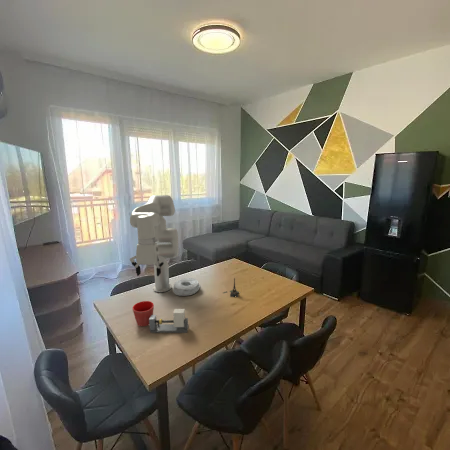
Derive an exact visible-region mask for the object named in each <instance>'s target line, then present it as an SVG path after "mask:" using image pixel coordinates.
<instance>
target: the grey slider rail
mask: <svg viewBox="0 0 450 450" xmlns="http://www.w3.org/2000/svg"><path fill="white" fill-rule="evenodd" d="M189 325H190V324H189V318H188V317H185V320H184V327H174V319H170V320H169V319H168V320H166V319H163V318H159V320H157V315H156V314H153V315H151V317H150V319H149V325H148V326H149V332H150V333H151V334H187V333H188V330H189Z"/></svg>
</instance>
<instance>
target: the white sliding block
mask: <svg viewBox="0 0 450 450" xmlns="http://www.w3.org/2000/svg"><path fill="white" fill-rule="evenodd" d="M172 314H173V320H174V323H173V324H174V327H184V320H185V318H186V317H185V316H186V315H185V308H174V310H173V313H172Z"/></svg>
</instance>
